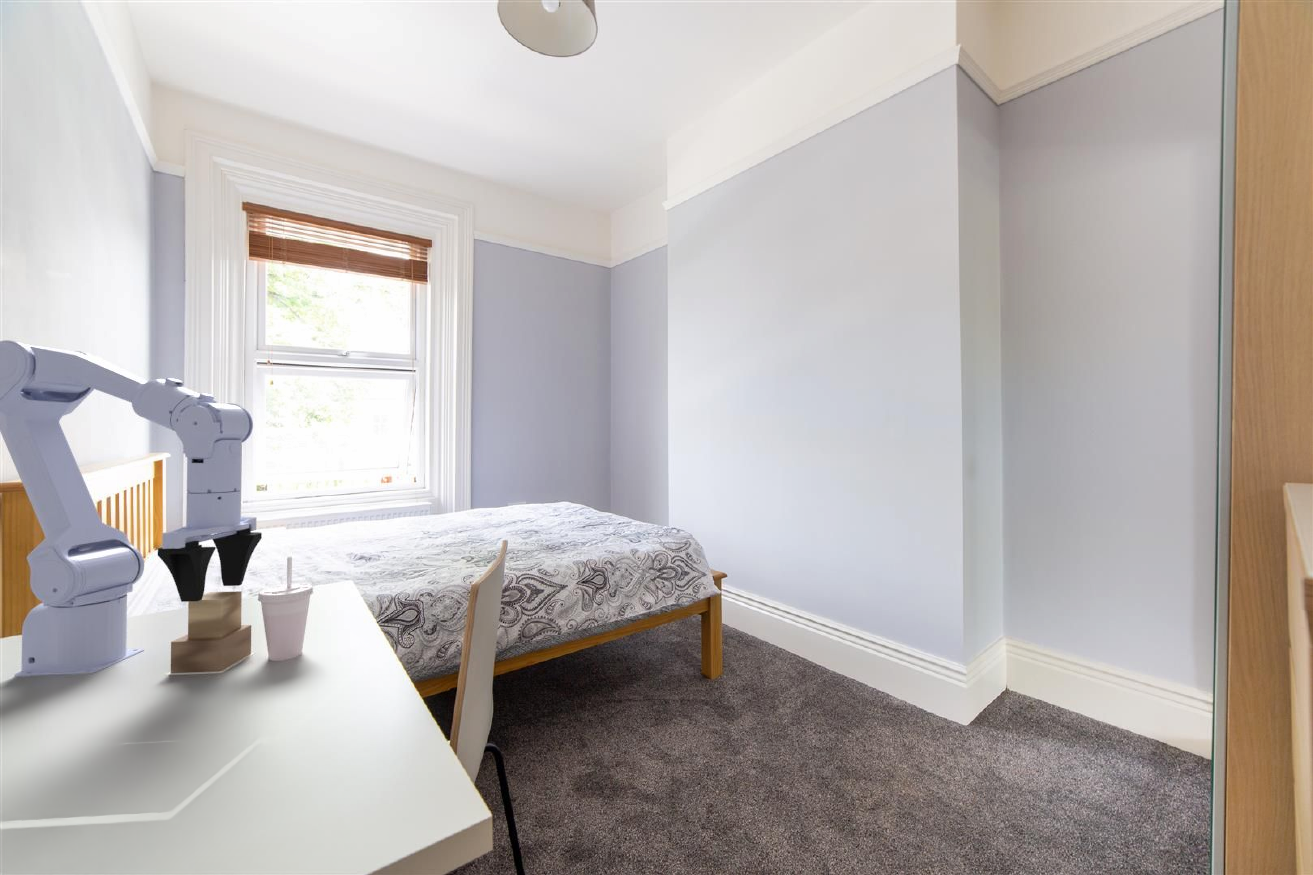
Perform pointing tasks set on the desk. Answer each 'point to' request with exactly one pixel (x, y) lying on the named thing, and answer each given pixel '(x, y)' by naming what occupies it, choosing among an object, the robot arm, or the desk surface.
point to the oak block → (214, 615)
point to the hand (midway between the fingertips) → (213, 592)
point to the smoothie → (285, 617)
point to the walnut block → (210, 652)
